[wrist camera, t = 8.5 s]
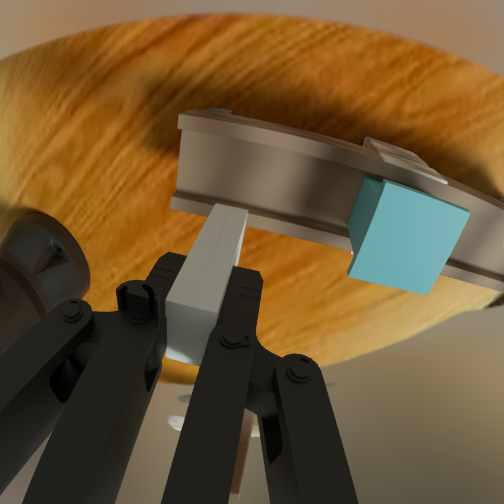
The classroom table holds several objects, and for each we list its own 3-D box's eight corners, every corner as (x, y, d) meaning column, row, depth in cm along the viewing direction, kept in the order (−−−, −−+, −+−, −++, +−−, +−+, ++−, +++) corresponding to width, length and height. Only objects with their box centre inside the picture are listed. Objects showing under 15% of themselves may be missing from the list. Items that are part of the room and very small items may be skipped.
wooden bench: (201, 175, 29) (170, 210, 23) (211, 99, 25) (179, 111, 18) (484, 252, 28) (514, 297, 22) (511, 196, 24) (551, 233, 18)
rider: (341, 239, 23) (348, 276, 19) (369, 158, 19) (386, 182, 15) (410, 257, 23) (427, 295, 19) (443, 184, 19) (470, 213, 15)
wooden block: (231, 375, 46) (205, 482, 31) (260, 380, 45) (240, 489, 30) (230, 403, 51) (208, 495, 36) (256, 407, 50) (238, 500, 35)
